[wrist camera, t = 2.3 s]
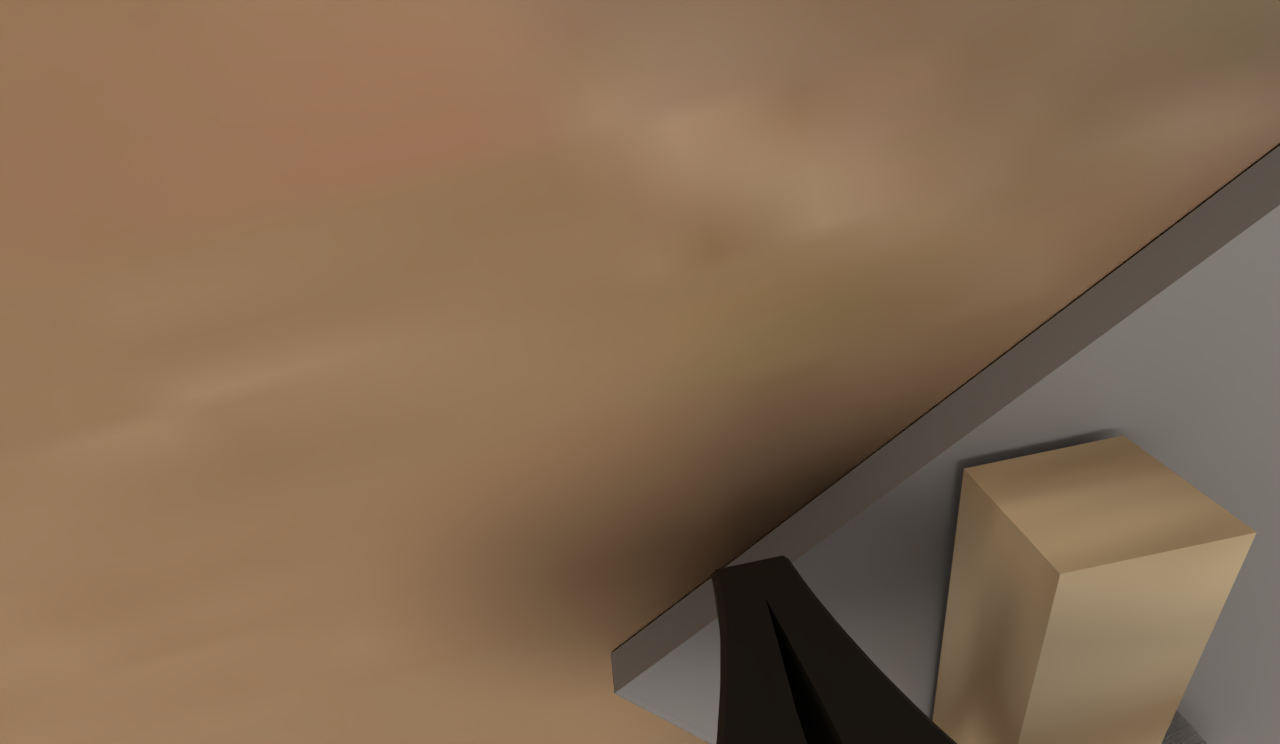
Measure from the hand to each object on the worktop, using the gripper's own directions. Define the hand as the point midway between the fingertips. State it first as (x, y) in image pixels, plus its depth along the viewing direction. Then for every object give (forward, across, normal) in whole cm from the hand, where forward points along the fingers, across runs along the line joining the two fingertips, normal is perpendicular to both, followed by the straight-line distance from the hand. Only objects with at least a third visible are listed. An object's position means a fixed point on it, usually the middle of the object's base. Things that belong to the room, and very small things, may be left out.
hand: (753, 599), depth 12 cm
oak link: (+1, -6, +5) cm, 8 cm away
